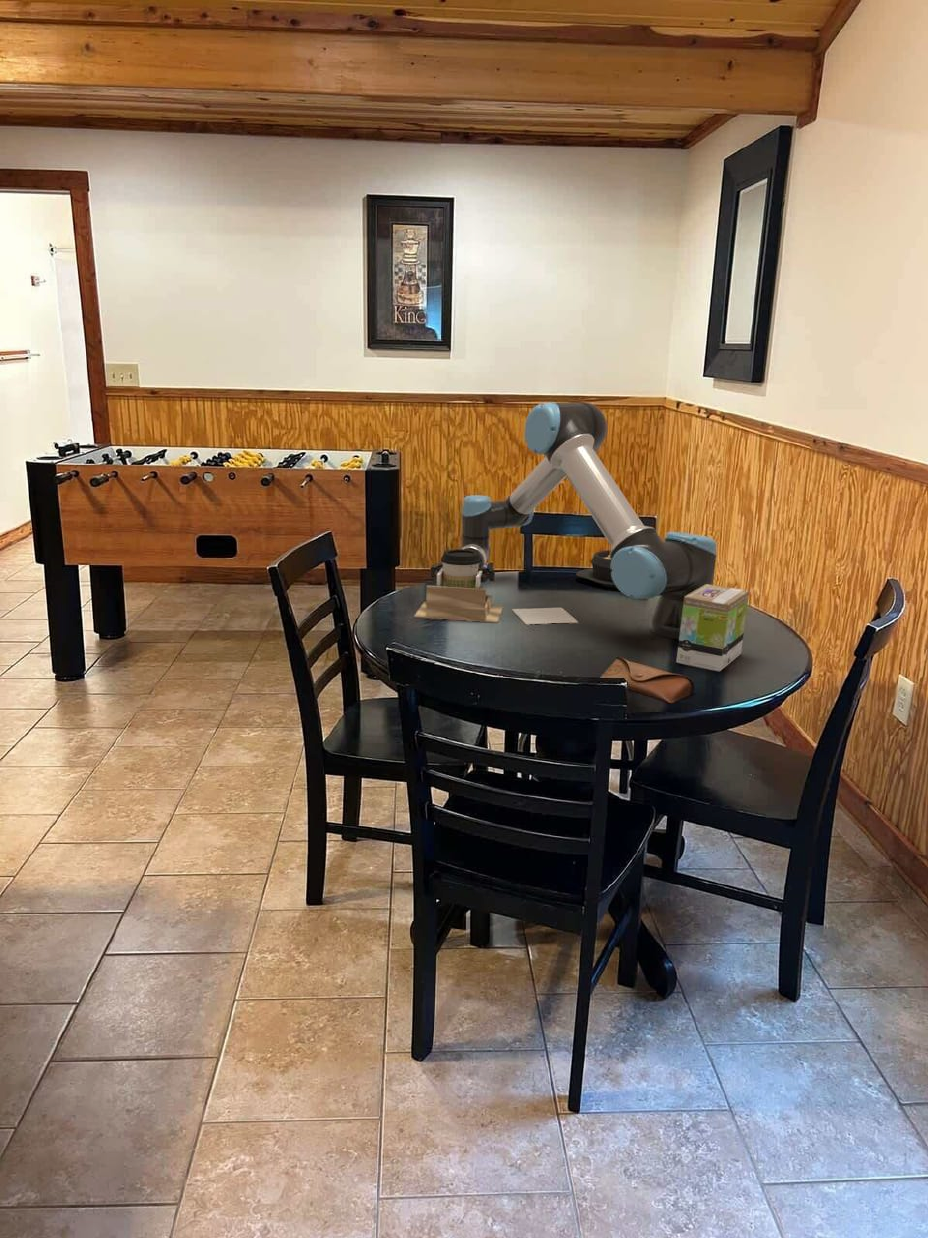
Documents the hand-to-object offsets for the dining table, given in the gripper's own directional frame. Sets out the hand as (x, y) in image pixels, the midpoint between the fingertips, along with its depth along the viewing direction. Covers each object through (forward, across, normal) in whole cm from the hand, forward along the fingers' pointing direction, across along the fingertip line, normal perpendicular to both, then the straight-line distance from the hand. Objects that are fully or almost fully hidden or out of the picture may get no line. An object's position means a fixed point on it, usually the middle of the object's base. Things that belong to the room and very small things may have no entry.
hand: (457, 581), depth 221 cm
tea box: (+19, -58, -9) cm, 61 cm away
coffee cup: (-5, 0, -9) cm, 10 cm away
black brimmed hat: (-45, -40, -9) cm, 60 cm away
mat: (-6, -21, -9) cm, 23 cm away
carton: (-6, 0, -9) cm, 11 cm away
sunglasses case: (+40, -43, -10) cm, 59 cm away
